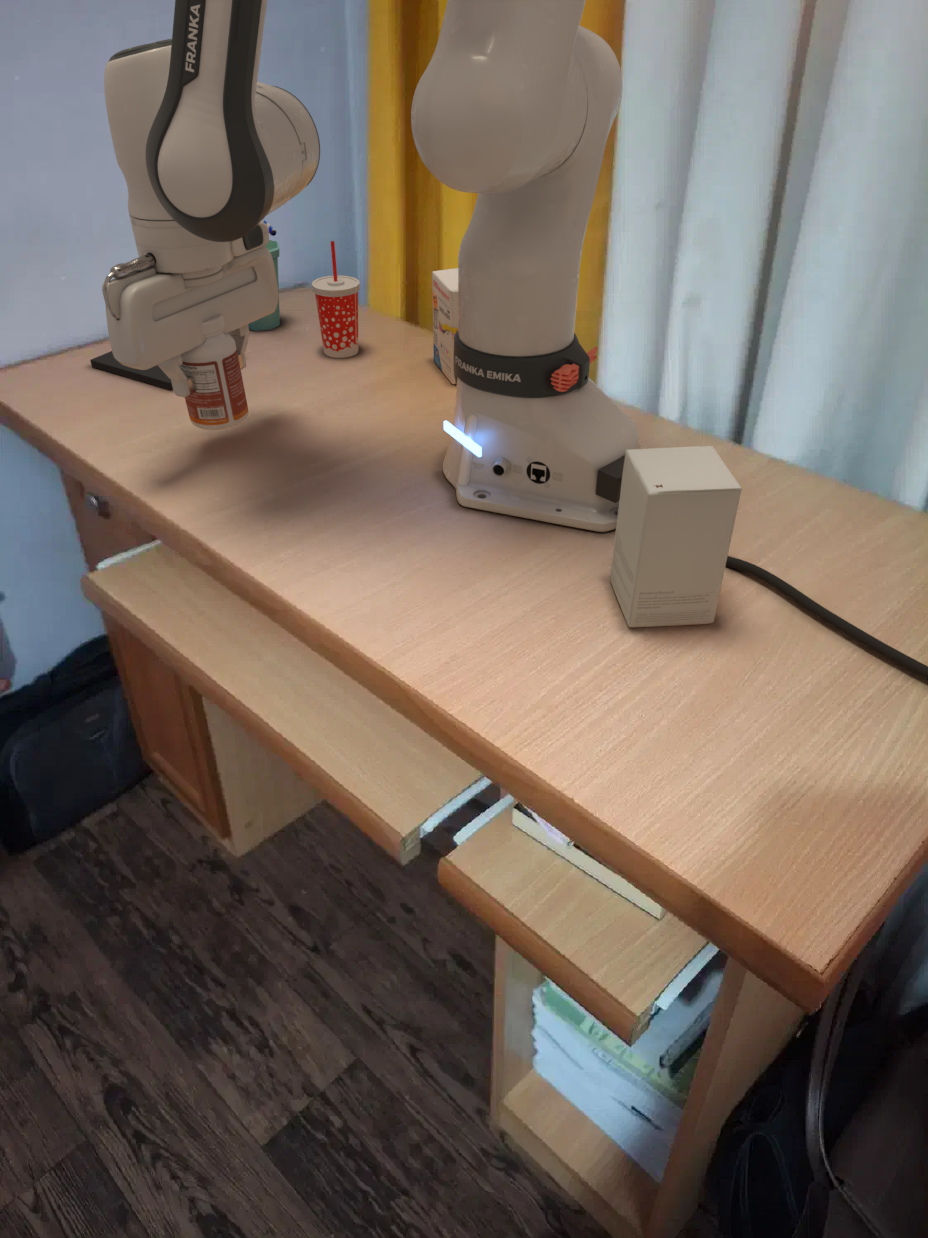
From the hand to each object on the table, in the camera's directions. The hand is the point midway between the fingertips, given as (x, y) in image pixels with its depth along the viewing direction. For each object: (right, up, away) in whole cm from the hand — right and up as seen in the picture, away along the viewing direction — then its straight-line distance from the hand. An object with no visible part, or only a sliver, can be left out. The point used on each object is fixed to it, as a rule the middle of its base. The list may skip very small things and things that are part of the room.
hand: (212, 381), depth 95 cm
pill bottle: (0, -4, +3) cm, 4 cm away
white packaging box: (+43, -23, -18) cm, 52 cm away
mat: (-12, +8, +23) cm, 28 cm away
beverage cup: (+10, +11, +27) cm, 30 cm away
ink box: (+27, +7, +22) cm, 36 cm away
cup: (-2, +17, +34) cm, 38 cm away
